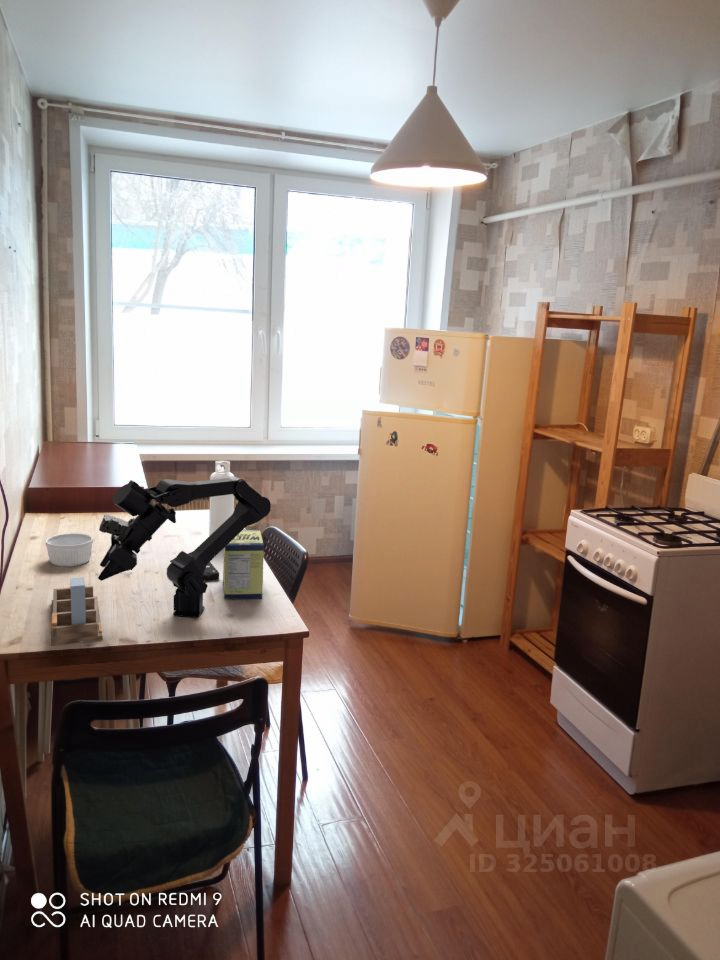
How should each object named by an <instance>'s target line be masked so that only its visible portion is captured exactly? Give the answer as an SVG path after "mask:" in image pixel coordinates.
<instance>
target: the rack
mask: <svg viewBox="0 0 720 960" xmlns="http://www.w3.org/2000/svg"><path fill="white" fill-rule="evenodd" d="M52 590H53V594H52V599H51V609H50V611H51V612H50V613H51V615H50V646H56V645H65V644H75V643H83V642H84V643H85V642H94V641H103V629H102V623H101V615H100V609H99V607H100V606H99V599H98V596H96V595H95V596H94V586H93V585H88V586H86V585H85V606H86V624H78V625H72V623H71V587H61V588H53V589H52Z"/></svg>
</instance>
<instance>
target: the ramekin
mask: <svg viewBox="0 0 720 960" xmlns="http://www.w3.org/2000/svg"><path fill="white" fill-rule="evenodd" d="M93 538H94V537H93V536H91V535H90V534H87V533H80V532H79V533H78V532H74V533H73V532H69V533H61V534H55V535H52V536H50V537H48V538H47V539H46V540H45V546H46V549H47V556H48V561H50V563H51V564H53V565H54V566H56V567H75V566H81V565H84V564H87V563H88V561H90V559H91V557H92V551H93V550H92V549H93V543H94V539H93Z"/></svg>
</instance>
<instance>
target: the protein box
mask: <svg viewBox="0 0 720 960" xmlns="http://www.w3.org/2000/svg"><path fill="white" fill-rule="evenodd" d="M264 547H265V545H264V541H263V536H262V533H261V529H243V530H242V531H241V532H240V533H239V534H238V535H237V536H236V537H235V538H234V539H233V540H232V541H231V542H230V543H229V544H228V545H227V546H226V547H225V548H223V569H222V570H223V571H222V574H223V580H222V581H223V597H224V600H244V599H245V600H246V599H247V600H248V599H250V600H251V599H263V585H264V553H265V550H264V549H265V548H264Z"/></svg>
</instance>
